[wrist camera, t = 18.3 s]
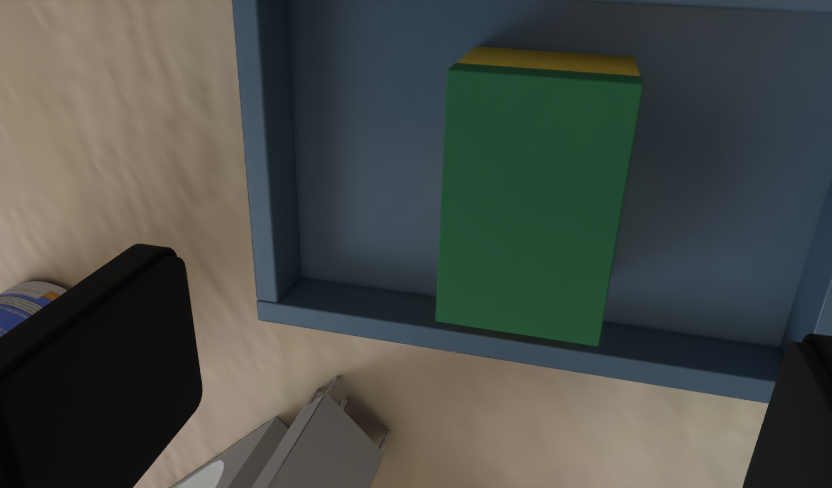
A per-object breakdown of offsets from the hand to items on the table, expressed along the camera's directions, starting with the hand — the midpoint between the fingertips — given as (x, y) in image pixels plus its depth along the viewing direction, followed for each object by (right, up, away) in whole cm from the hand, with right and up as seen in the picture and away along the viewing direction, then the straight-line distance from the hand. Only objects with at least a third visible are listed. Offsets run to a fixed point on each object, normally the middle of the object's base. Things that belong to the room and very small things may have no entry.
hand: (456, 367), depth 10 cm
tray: (+3, +5, +11) cm, 12 cm away
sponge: (+3, +4, +10) cm, 11 cm away
